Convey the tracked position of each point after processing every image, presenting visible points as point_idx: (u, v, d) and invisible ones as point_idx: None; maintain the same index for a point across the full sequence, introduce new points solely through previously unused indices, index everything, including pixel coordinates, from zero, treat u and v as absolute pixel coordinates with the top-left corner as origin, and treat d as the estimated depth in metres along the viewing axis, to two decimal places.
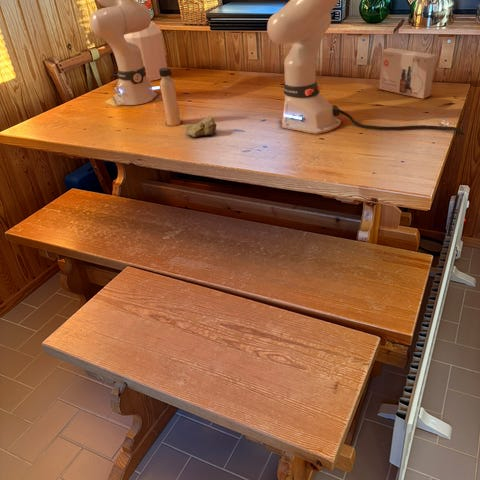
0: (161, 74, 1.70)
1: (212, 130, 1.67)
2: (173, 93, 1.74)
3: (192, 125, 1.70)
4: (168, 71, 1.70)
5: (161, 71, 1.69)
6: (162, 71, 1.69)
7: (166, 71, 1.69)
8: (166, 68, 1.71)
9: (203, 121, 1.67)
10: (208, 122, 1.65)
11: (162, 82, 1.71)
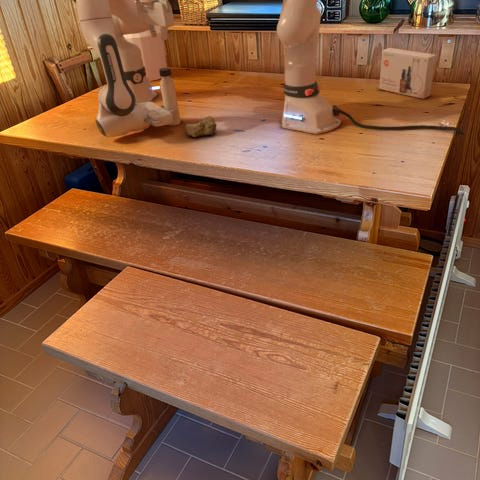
0: (161, 74, 1.70)
1: (212, 130, 1.67)
2: (173, 93, 1.74)
3: (192, 125, 1.70)
4: (168, 71, 1.70)
5: (161, 71, 1.69)
6: (162, 71, 1.69)
7: (166, 71, 1.69)
8: (166, 68, 1.71)
9: (203, 121, 1.67)
10: (208, 122, 1.65)
11: (162, 82, 1.71)
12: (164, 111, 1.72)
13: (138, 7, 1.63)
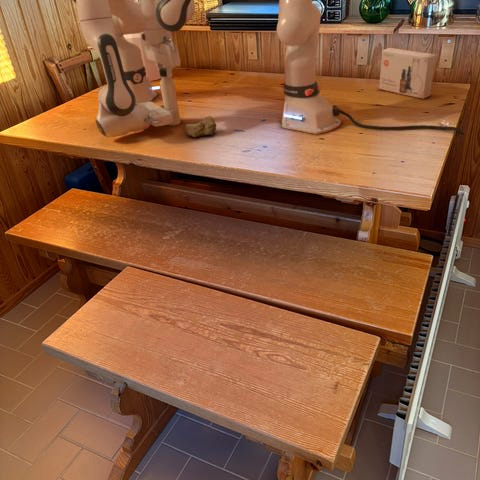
0: (161, 74, 1.70)
1: (212, 130, 1.67)
2: (173, 93, 1.74)
3: (192, 125, 1.70)
4: None
5: (161, 71, 1.69)
6: (162, 71, 1.69)
7: None
8: (166, 68, 1.71)
9: (203, 121, 1.67)
10: (208, 122, 1.65)
11: (162, 82, 1.71)
12: (164, 111, 1.72)
13: (145, 46, 1.71)
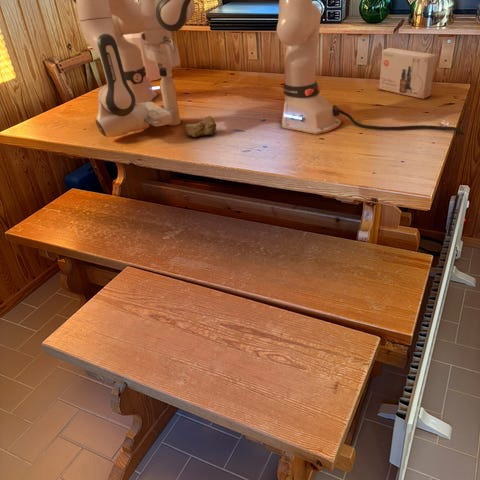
0: None
1: (212, 130, 1.67)
2: (173, 93, 1.74)
3: (192, 125, 1.70)
4: None
5: None
6: None
7: None
8: (163, 68, 1.71)
9: (203, 121, 1.67)
10: (208, 122, 1.65)
11: (162, 82, 1.71)
12: (164, 111, 1.72)
13: (145, 46, 1.71)
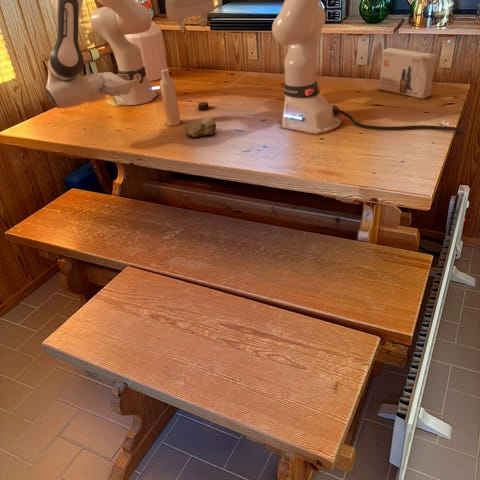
0: (208, 106, 1.93)
1: (212, 130, 1.67)
2: (173, 93, 1.74)
3: (192, 125, 1.70)
4: None
5: None
6: None
7: None
8: (201, 103, 1.92)
9: (203, 121, 1.67)
10: (208, 122, 1.65)
11: (162, 82, 1.71)
12: (121, 80, 1.58)
13: (175, 4, 1.65)
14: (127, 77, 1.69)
